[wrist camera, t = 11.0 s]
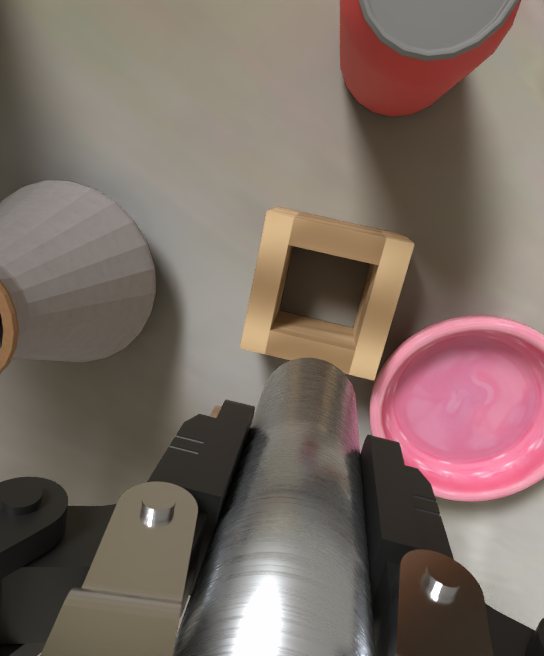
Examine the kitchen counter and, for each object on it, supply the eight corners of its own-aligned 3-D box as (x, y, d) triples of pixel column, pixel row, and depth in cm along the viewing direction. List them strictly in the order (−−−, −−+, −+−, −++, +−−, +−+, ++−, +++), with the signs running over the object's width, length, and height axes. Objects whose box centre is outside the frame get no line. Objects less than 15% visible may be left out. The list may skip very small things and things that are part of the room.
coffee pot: (33, 149, 31) (-219, 125, 17) (195, 225, 31) (77, 264, 17) (-35, 415, 38) (-257, 555, 24) (98, 477, 38) (-44, 654, 24)
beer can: (452, -32, 26) (542, -200, 14) (468, 100, 27) (560, 44, 16) (328, 6, 27) (321, -120, 16) (351, 131, 29) (359, 99, 17)
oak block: (277, 206, 30) (266, 211, 26) (404, 234, 30) (414, 244, 26) (252, 326, 33) (239, 348, 29) (369, 354, 32) (374, 380, 28)
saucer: (584, 447, 33) (608, 474, 30) (402, 496, 35) (408, 525, 32) (532, 276, 30) (553, 287, 27) (340, 345, 33) (340, 361, 30)
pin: (272, 347, 14) (144, 682, 5) (366, 370, 14) (424, 761, 5) (254, 430, 15) (116, 850, 6) (342, 451, 15) (351, 921, 6)
